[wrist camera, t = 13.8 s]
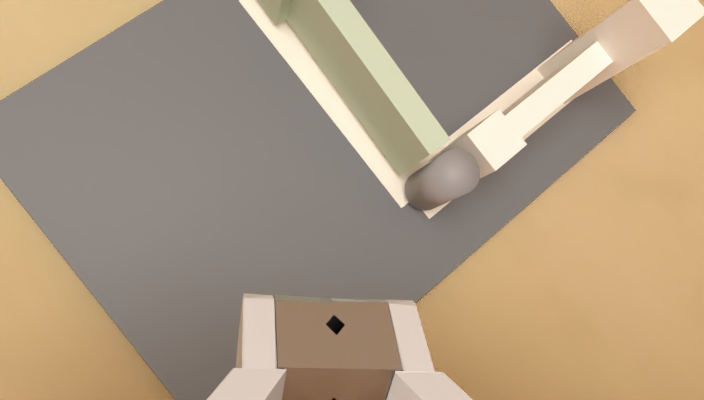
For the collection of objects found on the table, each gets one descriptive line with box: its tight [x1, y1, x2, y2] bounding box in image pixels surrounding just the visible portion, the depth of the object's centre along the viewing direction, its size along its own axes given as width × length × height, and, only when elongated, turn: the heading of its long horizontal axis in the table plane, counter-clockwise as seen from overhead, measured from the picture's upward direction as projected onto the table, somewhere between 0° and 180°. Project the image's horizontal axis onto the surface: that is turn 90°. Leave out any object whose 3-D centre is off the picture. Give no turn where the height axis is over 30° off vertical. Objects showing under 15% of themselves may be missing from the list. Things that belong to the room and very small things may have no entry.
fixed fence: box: [429, 0, 704, 178], centre depth 31 cm, size 11×2×9 cm, turn 129°
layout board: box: [0, 0, 636, 400], centre depth 33 cm, size 28×19×1 cm
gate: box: [258, 0, 480, 211], centre depth 28 cm, size 14×2×9 cm, turn 37°
